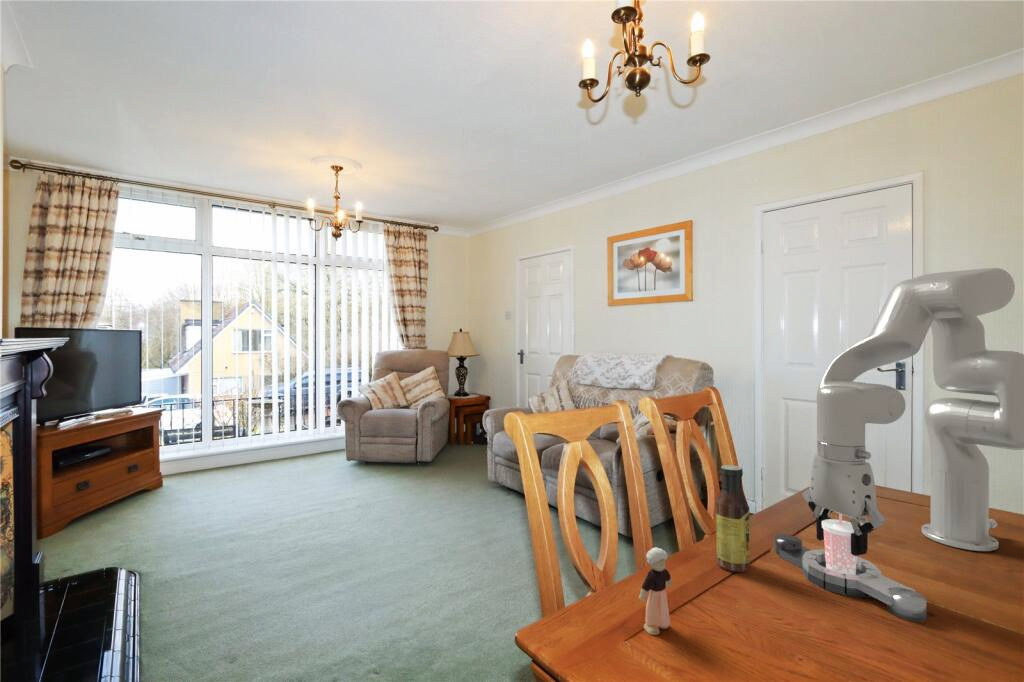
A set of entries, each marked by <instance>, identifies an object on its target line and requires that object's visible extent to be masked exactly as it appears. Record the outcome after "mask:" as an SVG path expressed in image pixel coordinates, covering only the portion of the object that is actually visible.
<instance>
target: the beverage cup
mask: <svg viewBox="0 0 1024 682" xmlns="http://www.w3.org/2000/svg"><path fill="white" fill-rule="evenodd" d="M822 528H823V530H824V540H823V543H824V550H825V557H826V568H827V569H829V570H832V571H836V572H839V573H843V574H853V575H856V561H857V556H854V555H852V554H851V533H855V532H854V530H853V527H852V524H851V522H849V521H847V520H843V515H842V514H839V513H838V519H833V518H831V519H826V520H823V521H822Z"/></svg>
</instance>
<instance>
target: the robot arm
mask: <svg viewBox="0 0 1024 682" xmlns="http://www.w3.org/2000/svg"><path fill="white" fill-rule="evenodd" d="M1015 286H1016V285H1015V280H1014V279H1013V277H1012V275H1011V274H1010V273H1009V272H1008V271H1006V270H1005V269H1004V268H999V267H987V268H975V269H968V270H958V271H957V270H953V271H943V272H933V273H928V274H922V275H918V276H916V277H913V278H909V279H905V280H903V281H900V282H898V283H897V284H895V285H894V286H893V287H892V288H891V290H890V292H889V294H888V296H887V297H886V300H885V302H884V304H883V306H882V308H881V309H880V310H881V311H880V312H879V314H878V316H877V319H876V321H875V323H874V325H873V326H872V329H871V332H870V333H869V334H868V336H866V337H865V338H862V339H861V340H860V341H859V340H858V341H857V342H856V343H854V344H852V345H851V346H850V347H848V348H847V349H845V350H844V351H842V353H840V354H838V356H836V357H835V358H834V359H833V360H832V361H831V363H829V365H828V367H827V368H826V371H825V372H824V375H823V377H822V379H821V381H820V383H819V385H818V388H817V392H816V454H815V455H814V457H813V461H812V465H811V473H810V484H809V485H810V487H808V488H807V489H806V490H804V491H803V492H802V494H801V495H802V497H803V498H804V500H805V501H806V503H807V504H808V507H809V509H810V510H811V511H812V516H813V518H814V519H815V520H816V521H815V522H816V526H815V528H816V539H817V540H818V541H824V530H823V528H822V521H823V520H826V519H832V517H830V514H831V512H834V513H837V514H838V515H839V514H842V516H845V517H847V518H848V519H849V521H850V523H851V524H852V527H853V530H854V532H855V533H851V554H852V555H854V556H858V557H859V556H862V555H866V554H867V552H868V546H869V545H868V544H869V542H868V539H869V538H868V536H869V535H868V534H871V533H872V532H873V531H875V530H877V529H878V528H880V526H882V525H884V524H886V522H887V521H886V518H885V517H884V515H883V514H882V513H881V511H880V510H879V509H878V506H877V493H876V492H877V491H876V484H875V478H874V474H873V469H872V465H871V463H870V462H866V460H870V459H871V457H872V454H871V452H869V451H867V450H866V449H867V448H866V447H867V446H866V424H874V425H887V424H892V423H894V422H896V421H898V420H899V419H901V418H902V416H903V415H904V414H905V411H906V400H905V397H904V396H903V394H902V393H901V391H900V390H898V389H896V388H895V387H892V386H890V385H886V384H880V383H867V382H861V381H855V380H856V379H857V378H858V377H860V376H861V375H863V374H865V373H866V372H868V371H871V370H873V369H877V368H878V367H882V366H887V365H890V364H893V363H896V362H900V361H903V360H906V359H908V358H912V357H913V356H915V355H916V354H918V353H919V351H920V350H921V347H922V345H923V343H924V341H925V338H926V337H927V334H928V332H929V329H930V330H931V335H932V370H933V371H932V372H933V380H934V382H935V386H937V387H938V388H940V389H942V390H943V391H947V392H954V393H961V394H971V395H972V394H973V395H983V396H993V397H996V398H997V399H998V401H991V400H989V401H988V400H981V399H973V398H972V399H971V398H960V397H942V398H941V397H940V398H937V399H934V400H933V401H931V402H930V403H929V404H928V405H927V406H926V408H925V412H924V419H925V425H926V429H927V434H928V441H929V448H930V523H925V524H923V525H921V533H922V534H923V535H924V536H925V537H927V538H929V540H932V541H934V542H937V543H940V544H942V545H945V546H949V547H952V548H957V549H962V550H967V551H975V552H992V551H993V550H994V551H996V550H998V549H999V541H998V540H997V539H996V538H994V537H993V536H992V535H990V534H989V530H991V529H995V528H997V527H998V523H997V521H996V520H995V519H993V518H989V517H990V515H989V514H990V513H989V512H990V511H989V509H990V508H989V506H990V505H989V503H990V502H989V499H990V498H989V497H990V495H989V494H990V492H989V490H990V488H989V487H990V485H989V483H990V467H989V462H988V460H987V458H986V457H985V455H984V453H983V452H982V451H981V449H980V448H979V447H978V446H977V445H979V446H985V447H991V448H998V449H1004V450H1013V451H1024V353H1022V352H1018V351H1014V350H991V349H990V350H988V349H987V347H986V338H985V334H986V333H985V330H986V329H985V327H984V325H983V323H982V321H981V319H980V318H979V316H982V315H986V314H989V313H992V312H993V313H994V312H996V311H999V310H1002V309H1003V308H1004V307H1006V306H1007V305H1008V304H1010V303H1011V301H1012V299H1013V297H1014V295H1015V290H1016V287H1015ZM867 516H868V517H870V519H869V520H868V518H867ZM994 551H993V552H994Z"/></svg>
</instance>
